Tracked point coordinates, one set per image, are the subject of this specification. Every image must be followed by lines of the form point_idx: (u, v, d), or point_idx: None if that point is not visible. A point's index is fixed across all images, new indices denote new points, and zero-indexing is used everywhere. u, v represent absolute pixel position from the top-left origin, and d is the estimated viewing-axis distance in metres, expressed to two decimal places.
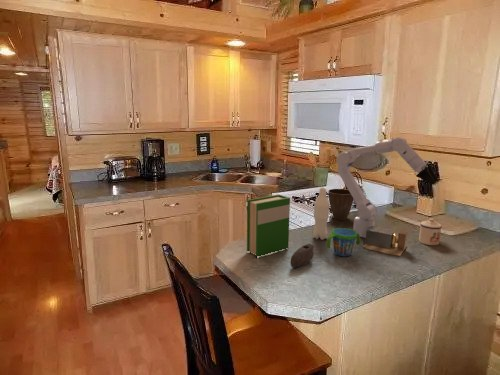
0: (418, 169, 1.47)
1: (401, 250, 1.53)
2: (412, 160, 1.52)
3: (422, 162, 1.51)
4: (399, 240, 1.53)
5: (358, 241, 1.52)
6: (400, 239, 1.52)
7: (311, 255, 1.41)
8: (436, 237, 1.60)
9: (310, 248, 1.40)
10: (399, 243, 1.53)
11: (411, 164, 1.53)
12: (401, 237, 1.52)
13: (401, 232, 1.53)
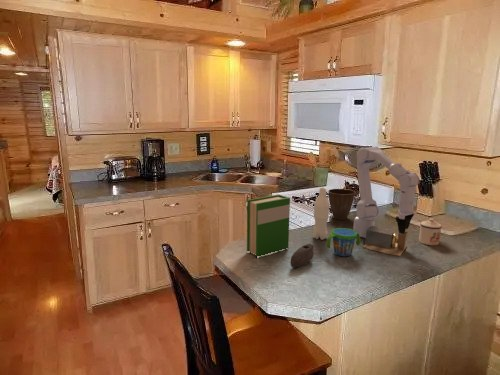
0: (402, 216, 1.45)
1: (401, 250, 1.53)
2: (405, 203, 1.48)
3: (410, 210, 1.48)
4: (399, 240, 1.53)
5: (358, 241, 1.52)
6: (400, 239, 1.52)
7: (311, 255, 1.41)
8: (436, 237, 1.60)
9: (310, 248, 1.40)
10: (399, 243, 1.53)
11: (401, 205, 1.49)
12: (401, 237, 1.52)
13: None
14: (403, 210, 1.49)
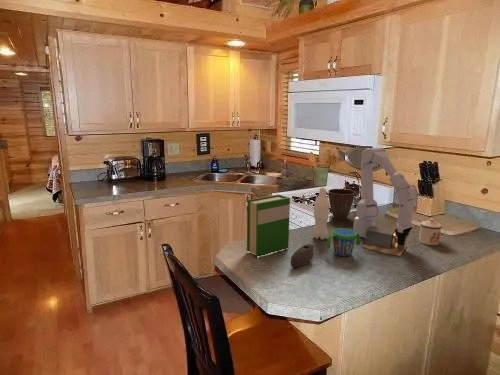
0: (400, 230, 1.46)
1: (401, 250, 1.53)
2: (403, 216, 1.49)
3: (409, 224, 1.49)
4: None
5: (358, 241, 1.52)
6: None
7: (311, 255, 1.41)
8: (436, 237, 1.60)
9: (310, 248, 1.40)
10: None
11: (400, 218, 1.50)
12: None
13: None
14: (402, 223, 1.50)
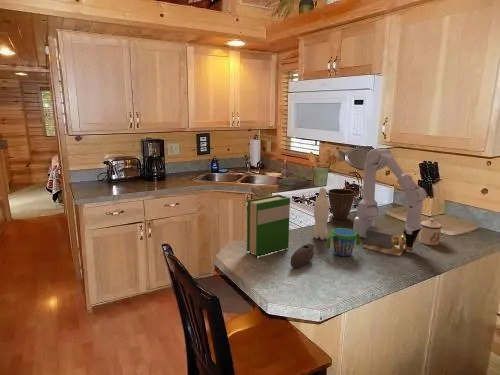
0: (409, 231, 1.44)
1: (401, 250, 1.53)
2: (412, 218, 1.47)
3: (417, 225, 1.47)
4: None
5: (358, 241, 1.52)
6: None
7: (311, 255, 1.41)
8: (436, 237, 1.60)
9: (310, 248, 1.40)
10: None
11: (408, 220, 1.48)
12: None
13: None
14: (410, 225, 1.48)
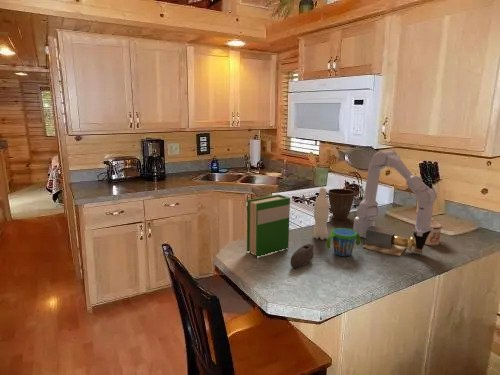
0: (420, 233, 1.42)
1: (401, 250, 1.53)
2: (422, 220, 1.45)
3: (428, 227, 1.45)
4: None
5: (358, 241, 1.52)
6: None
7: (311, 255, 1.41)
8: (436, 237, 1.60)
9: (310, 248, 1.40)
10: (416, 247, 1.49)
11: (418, 221, 1.46)
12: None
13: None
14: (420, 227, 1.46)
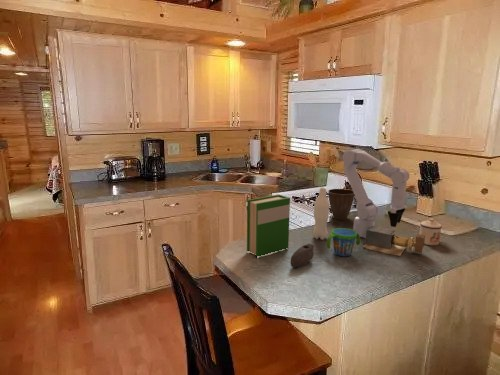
0: (393, 210, 1.53)
1: (401, 250, 1.53)
2: (396, 198, 1.56)
3: (401, 205, 1.56)
4: (416, 244, 1.49)
5: (358, 241, 1.52)
6: (418, 242, 1.48)
7: (311, 255, 1.41)
8: (436, 237, 1.60)
9: (310, 248, 1.40)
10: (416, 247, 1.49)
11: (393, 200, 1.57)
12: (418, 241, 1.48)
13: (418, 235, 1.49)
14: (395, 205, 1.57)
